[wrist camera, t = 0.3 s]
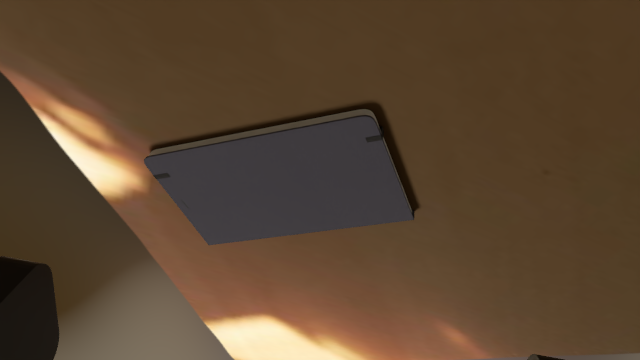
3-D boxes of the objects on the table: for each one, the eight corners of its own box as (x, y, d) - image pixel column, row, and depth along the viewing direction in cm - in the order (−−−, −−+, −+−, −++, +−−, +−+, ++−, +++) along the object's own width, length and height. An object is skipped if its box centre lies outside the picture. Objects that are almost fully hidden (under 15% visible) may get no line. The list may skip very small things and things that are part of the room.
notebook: (212, 233, 61) (415, 206, 54) (208, 245, 60) (414, 219, 53) (145, 146, 53) (374, 100, 46) (139, 158, 52) (373, 114, 45)
